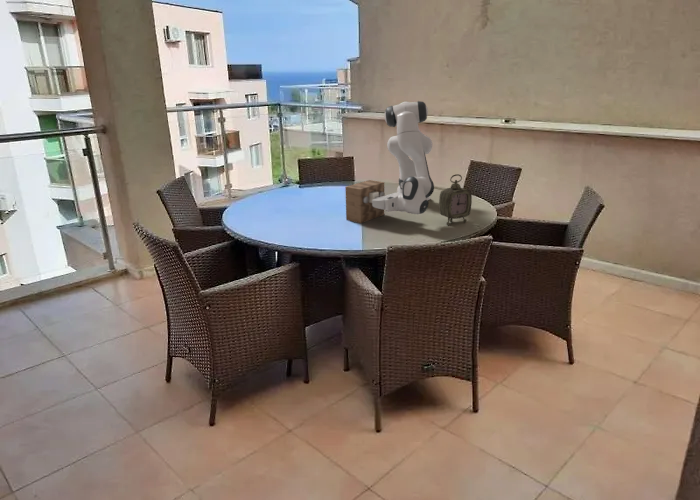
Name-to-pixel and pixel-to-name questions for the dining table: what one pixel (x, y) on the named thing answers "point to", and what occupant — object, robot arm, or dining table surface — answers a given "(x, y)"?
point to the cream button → (372, 195)
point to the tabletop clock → (455, 201)
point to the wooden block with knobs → (362, 201)
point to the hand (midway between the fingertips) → (376, 197)
